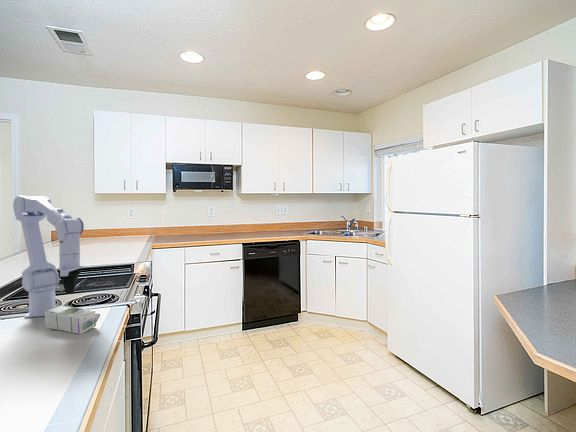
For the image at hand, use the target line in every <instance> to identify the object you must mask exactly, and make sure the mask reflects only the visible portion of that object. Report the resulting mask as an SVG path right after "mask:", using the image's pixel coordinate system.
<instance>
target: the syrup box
mask: <svg viewBox="0 0 576 432" xmlns="http://www.w3.org/2000/svg"><path fill="white" fill-rule="evenodd" d="M56 306H57V305H56ZM96 314H97V313H96V310H92V309H86V308H81V307H74V306H69V305H68V306H67V305H63V304H60V305H58V306H57V307H55V308H53V309H50V310H48V311H45V316H44V319H45V322H44V323H45V328H48V329H51V330H52V329H57V330H56V331H63V332H68V333H74V334H80V335H82V334H84V333H86V332H88V331H90V330H91V329H93V328H95V327H96V326H97V321H96Z"/></svg>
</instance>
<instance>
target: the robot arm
mask: <svg viewBox="0 0 576 432" xmlns="http://www.w3.org/2000/svg"><path fill="white" fill-rule="evenodd" d="M12 207H13V213H14V217H15V219H16V221H19V222H20V224H21V227H22V233H23V238H24V242H25V246H26V247H25V248H26V251H27V257H28V261H29V265H28V266H27V267H26V268H25V269H24V270H22V272H21V278H22V280H21V286H22V289H24V291H26V292H28V312H27V313H26V314H25V315H24V318H25V319H26V318H34V317H35V318H37V317H45V311H48V310H50V309H53V308H55V307H57V305H56V300H57V299H56V290H55V289H56V287H57V286H58V285H59V283H60V281H61V283H62V285H63V288H64V292H65V294H74V293H75V289H76V285H77V281H78V278H79V276H80V273H81V270H80V269H83V268H85V265H84V264H82V265H81V255H80V254H81V239H80V238H81V235H82V233H83V232H84V228H85V226H84V222H83V220H82V219H81V217H76V218H74V217H72V216H71V215H70V214H69V213H67V212H66V211H64V209H63V208H61V207H60V208H59V207H57V208H55V206H54V205H52V199H51V198H49V196H46V195H45V196H39V195H37V196H35V195H33V196H32V195H31V196H30V195H19V194H18V195H17V196H16V197H14V200H13V203H12ZM45 218H46V221H47V222H49V224H51V225H52V226H53V227H54V228H55V232H56V235H57V241H58V242H59V248H58V249H59V256H58V257H59V258H58V259H59V267H58V270H59V272H58V270H57V268H56V265H54V264H52V263H50V262H48V261H47V260H48V259H47V256H46V252H45V251H46V250H45V246H44V242H43V237H42V233H41V228H40V224H39V223H40V221H43V220H45Z"/></svg>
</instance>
